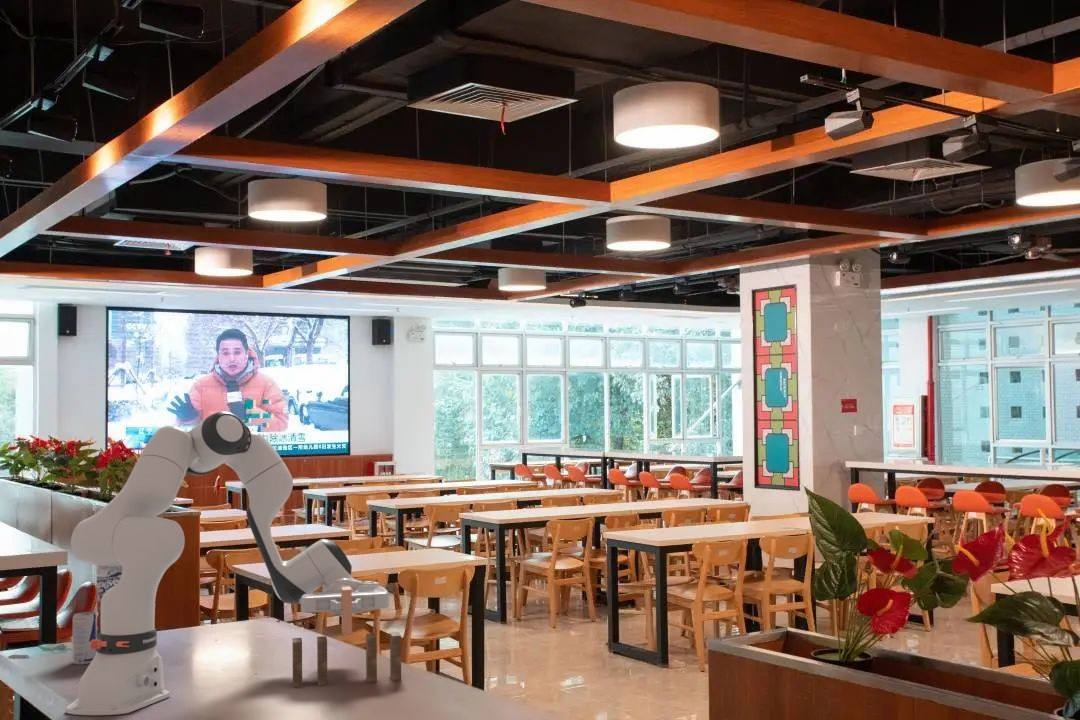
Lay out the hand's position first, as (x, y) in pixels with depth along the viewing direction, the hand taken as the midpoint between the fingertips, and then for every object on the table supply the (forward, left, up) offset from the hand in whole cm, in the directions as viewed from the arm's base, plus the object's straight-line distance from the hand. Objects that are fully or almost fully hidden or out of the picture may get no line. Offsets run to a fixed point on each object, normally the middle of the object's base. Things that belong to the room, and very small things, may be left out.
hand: (346, 606), depth 254 cm
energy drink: (+18, +73, -17) cm, 77 cm away
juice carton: (+30, +70, -17) cm, 77 cm away
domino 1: (-3, +11, -17) cm, 20 cm away
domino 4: (+3, -5, -17) cm, 18 cm away
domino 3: (+1, 0, -6) cm, 6 cm away
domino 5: (+5, -10, -17) cm, 20 cm away
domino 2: (-1, +6, -17) cm, 18 cm away
